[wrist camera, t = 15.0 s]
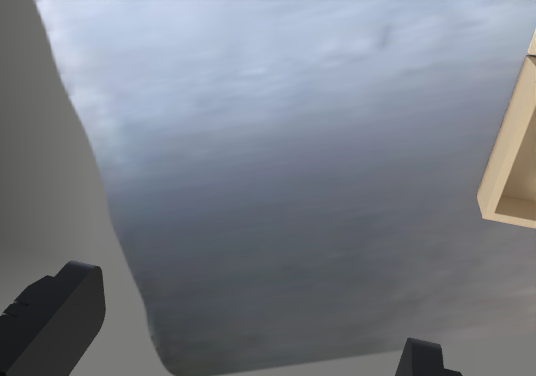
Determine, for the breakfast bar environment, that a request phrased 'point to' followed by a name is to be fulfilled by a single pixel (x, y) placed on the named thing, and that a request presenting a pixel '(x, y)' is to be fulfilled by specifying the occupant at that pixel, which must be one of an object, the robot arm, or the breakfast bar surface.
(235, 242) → the breakfast bar surface
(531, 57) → the box
